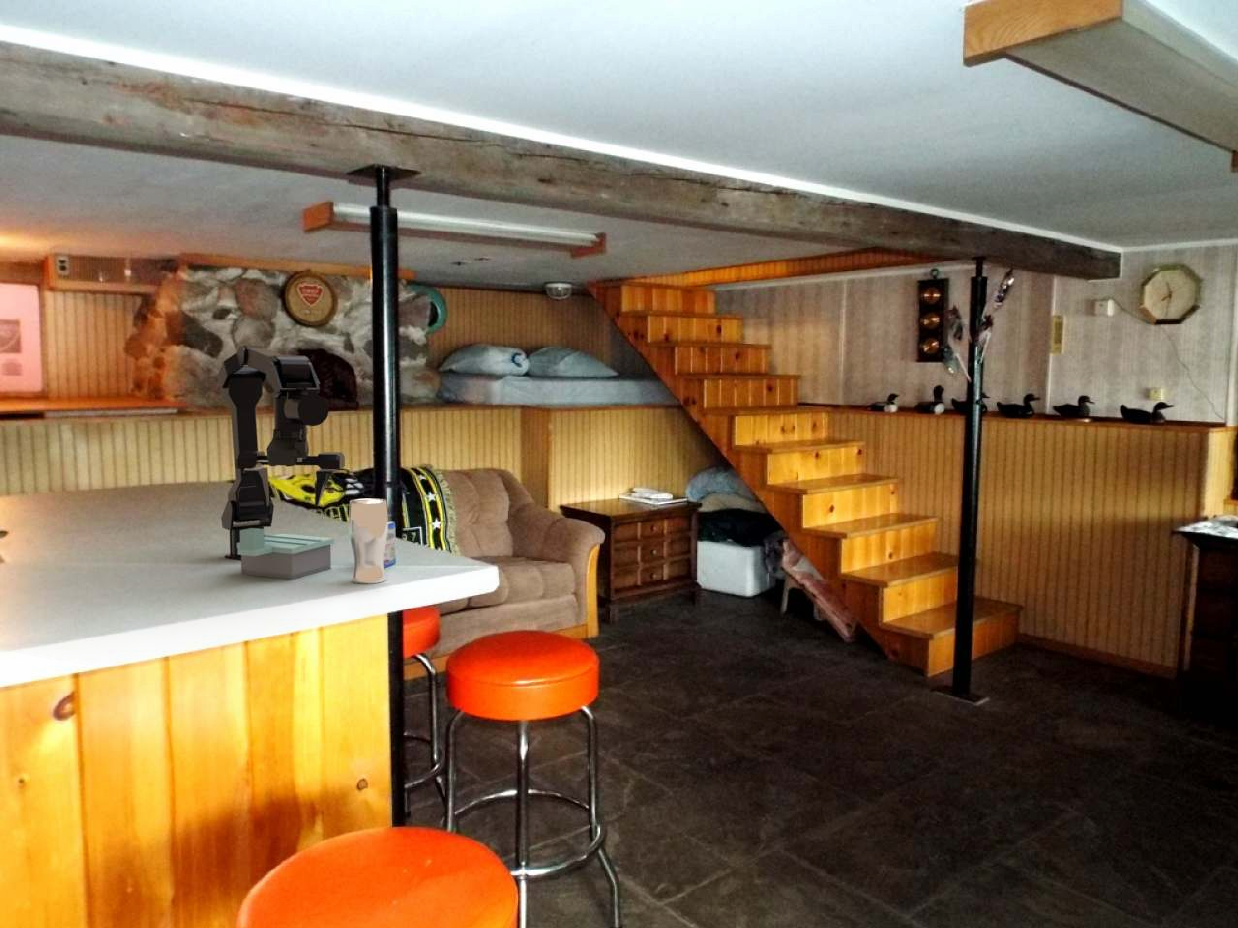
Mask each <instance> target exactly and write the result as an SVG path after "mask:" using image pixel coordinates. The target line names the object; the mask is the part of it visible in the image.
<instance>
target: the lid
mask: <svg viewBox="0 0 1238 928" xmlns="http://www.w3.org/2000/svg"><path fill="white" fill-rule="evenodd" d="M333 544H335V538H334V537H323V536H312V535H300V534H291V533H290V534H287V533H277V534H265V528H264V529H257V528H249V529H244V530H240V543H237V548H238V555H247V556H258V555H262V554H267V553H271V552H278V553H288V554H294V553H298V552H302V551H306V550H310V549H314V548H318V547H322V546H326V545H330V546H331V545H333Z"/></svg>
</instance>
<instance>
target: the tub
mask: <svg viewBox="0 0 1238 928" xmlns="http://www.w3.org/2000/svg"><path fill="white" fill-rule="evenodd" d="M331 560H332V559H331V544H330V545H326V546H322V547H318V548H314V549H310V550H306V551H302V552H298V553H294V554H288V553H278V552H271V553H267V554H262V555H258V556H247V555H241V559H240V564H241V565H240V566H241V568H240V569H241V575H247V576H256V577H266V578H273V579H283V580H291V581H292V580H296V579H300V578H304V577H307V576H309V575H310V576H311V575H314V574H317V573H320V572H324V571H326V570H331V569H332V566H331V565H332V564H331V563H332V562H331Z"/></svg>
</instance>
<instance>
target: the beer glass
mask: <svg viewBox="0 0 1238 928" xmlns="http://www.w3.org/2000/svg"><path fill="white" fill-rule="evenodd" d="M348 512H349V514H348V532H349V539H350V543H351V549H352V553H353V571H352V578H351V581H352V582H353V583H355V584H360V585H363V584H364V585H368V584H369V585H370V584H371V585H372V584H378V583H379V584H380V583H383V582H385V581H386V579H387V576H386V572H385V568H384V562H383V560H384V551H385V545H386V539H387V531H388V522H389V521H388V520H389V517H388V506H387V499H385V498H370V497H369V498H357V499H356V498H355V499H351V500H350V501H349V511H348Z"/></svg>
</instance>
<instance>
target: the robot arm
mask: <svg viewBox="0 0 1238 928" xmlns="http://www.w3.org/2000/svg"><path fill="white" fill-rule="evenodd" d="M310 361H311V360H310V359H309V358H308V357H307V356H306V355H283V354H281V353H279V352H275V351H273V350H271V349H268V348H267V346H263V345H256V344H255V345H254V344H253V345H251V344H248V345H247V344H243V345H242V346H239V347H237V351H236V352H235V353H234V354H232V355H231V356H229V357H228V358H226V359H225V360H223V362H222V364H221V366H220V369H219V371H218V373H217V385H218V387H219V389H220V395H221V399H222V400H223V401H224V402H225V404H226V405H227V406H228V408H229V409H230V416H231V427H232V428H231V429H232V430H231V431H232V443H233V444H232V446H233V460H234V472H235V473H234V476H235V477H234V478H235V479H234V482H233V484H232V485H231V488H230V489H229V491H228V492H227V496H228V497H227V501H226V504H225V507H224V509H223V513H222V515H221V518H220V519H221V527H222V529H224V530H227V531H229V551H230V552H229V553H227V554H225V555H224V558H229V559H234V560H235V559H238V560H241V555H238V548H237V543H240V530H244V529H249V528H257V529H264V530H265V527H268V528H269V527H272V522H273V513H274V508H275V507H274V503H273V500H272V496H271V488H270V486H269V476H268V474H269V473H268V467H266V466H270V467H276V466H284V467H293V466H318V468H319V469H318V470H316V471H315V476H316V483H315V484H316V486H315V495H314V505H315V507H319V505H320V503H321V501H322V497H323V495H324V493H325V489H326V486H327V483H328V482H329V480H330V478H331V477H332V474H333V475H334V474H335V473H337V472H338V471H339V470H341V469H343V468H345V467H346V458H345V454H344V453H343V452H342V451H339V452H338V451H322V452H321V453H318V454H317V455H309V454H310V453H309V452H310V449H309V443H308V427H317V426H320V425H321V424H323V423H324V422H325V421H326V419H327V418H328V415H329V406H328V403H327V402H326V400H325V399H324V398H323V397H322V396H320V395H319V394H318V393H320V392H321V387H320V385H321V382H320V380H319V378H318V376H317V374H316V371H315V369H314V365H313V364H312V362H310ZM266 382H269V383H270V384H269V385H270V386H271V387H272V390H273V391H272V393H271V398H273V416H274V417H273V421H274V423H273V424H274V425H273V429H272V439H271V441H270V442H269V444H268V445H267V447H266V450H265V451H266V453H265V451H261V450H259V444H258V443H259V441H258V427H257V426H258V425H257V413H256V410H257V409H256V407H257V406H258V404H259V402H260V400H261V399H262V398H263V395H264V392H263V391H264V386H265V384H266ZM264 466H265V467H264Z"/></svg>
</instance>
